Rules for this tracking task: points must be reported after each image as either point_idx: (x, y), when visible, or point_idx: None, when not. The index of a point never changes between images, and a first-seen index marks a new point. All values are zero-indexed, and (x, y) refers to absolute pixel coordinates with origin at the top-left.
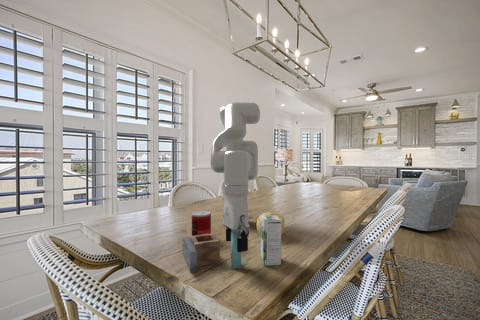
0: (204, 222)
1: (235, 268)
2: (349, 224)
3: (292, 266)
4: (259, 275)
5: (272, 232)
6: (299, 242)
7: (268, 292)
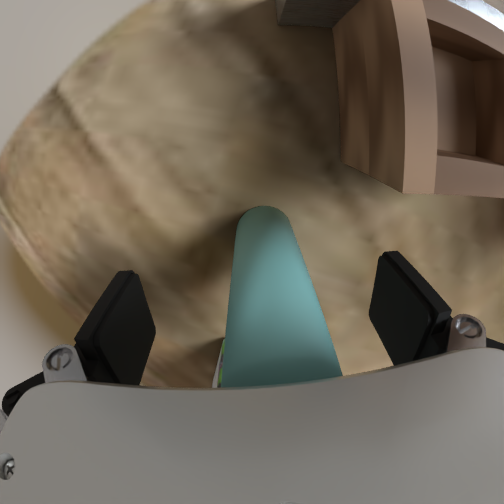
0: None
1: (239, 221)
2: None
3: None
4: (151, 295)
5: None
6: None
7: (54, 276)
